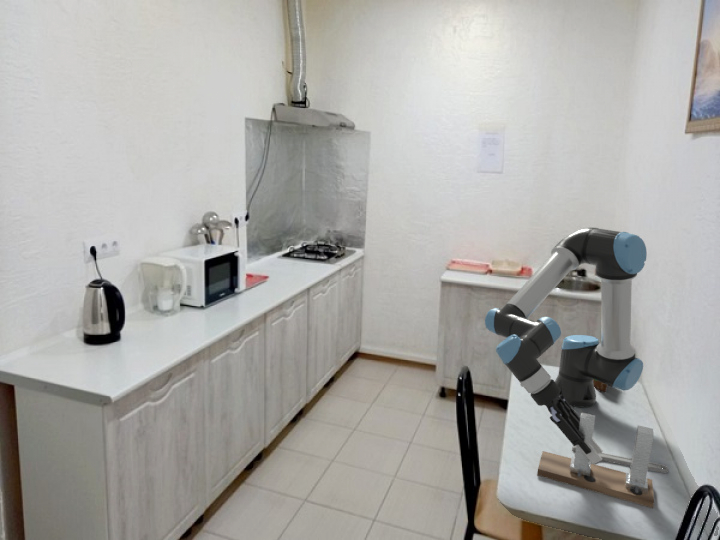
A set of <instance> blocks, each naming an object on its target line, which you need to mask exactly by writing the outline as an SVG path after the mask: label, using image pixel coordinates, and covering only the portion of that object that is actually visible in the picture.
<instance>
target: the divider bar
mask: <svg viewBox="0 0 720 540" xmlns="http://www.w3.org/2000/svg"><path fill="white" fill-rule="evenodd" d="M571 459H572V457H568V456H563V455H559V454H557V453H551V452H548V451H545V450H542V452H541V456H540V459H539V463H538V467H537V473H536V476H539V477H541V478H542V477H543V478H545V479H549V480H552V481H557V482H560V483H563V484H565V485H566V484H567V485H570V486H572V487H573V486H574V487H577V488H581V489H584V490H588V491H592V492H595V493H598V494H602V495H606V496H608V497H611V498H612V497H613V498H616V499H618V500H622V501H623V500H624V501H627V502H630V503H634V504H636V505H637V504H638V505H641V506H644V507H647V508H652V509H653V508H654V504H655V496H654V486H653V479H651V478H648V477H646V478H647V483H648V491H647V493H643V492H641V491H638V493H636V492H635V490H634V489H628V488H625V476H626V473H627V472H626V471H625V472H624V471H621V470H617V469H613V468H609V467H605V466H601V465H599V464H598V465H597V464H596V463H595V464H592V463H591V470H590V476H586V475H582V474H581V477H578V473H575V472H571V471H570V465H571Z"/></svg>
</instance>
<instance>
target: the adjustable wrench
mask: <svg viewBox="0 0 720 540" xmlns="http://www.w3.org/2000/svg"><path fill="white" fill-rule="evenodd" d="M571 451H572V452H576V446H573V445H572V448H571ZM599 455H600V457H601V458H602V460H601V461H603V460H605V461H604V462H609V461H610V463H613V462H615V463H614V464H618V463H620V464H619V465H623V464H625V465H624V466H628V465H630V466H629V467H631V461H632V457H625V456H620V455H614V454H611V453H610V454H609V453H605V452H602V453H600V454H599ZM589 462H591V461H590V460H589ZM662 468H663V469H662ZM648 469H649V471H652V470H653V471H654V472H658V473H663V474H667V473H669V469H670V468H669V466H667V465H665V464H660V463H657V462H651V461H649V464H648Z"/></svg>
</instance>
